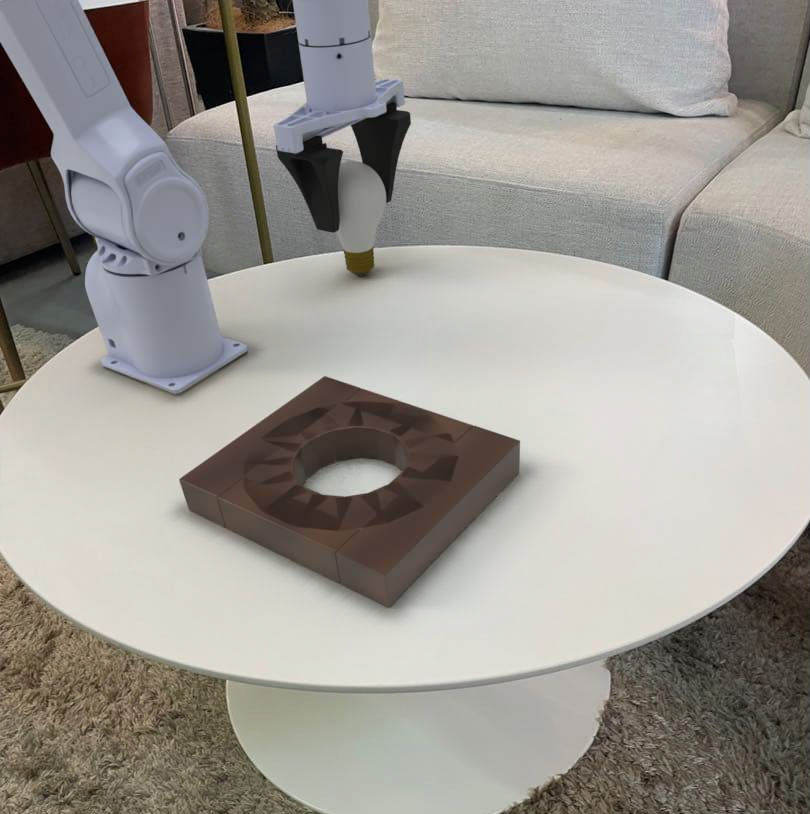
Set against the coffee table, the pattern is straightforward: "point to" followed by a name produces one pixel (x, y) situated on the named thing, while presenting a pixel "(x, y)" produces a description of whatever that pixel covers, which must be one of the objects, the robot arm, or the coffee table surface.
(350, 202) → the light bulb
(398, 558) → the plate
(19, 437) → the coffee table surface
